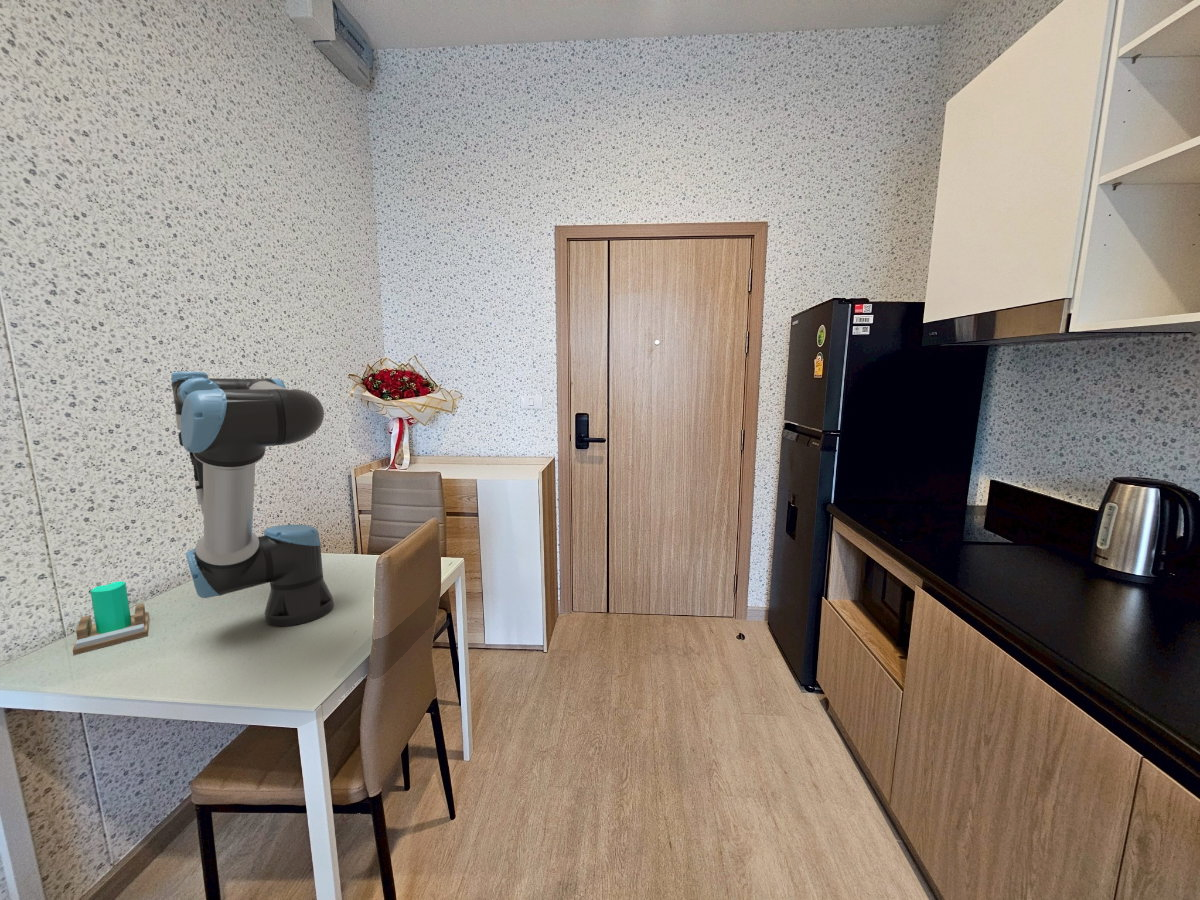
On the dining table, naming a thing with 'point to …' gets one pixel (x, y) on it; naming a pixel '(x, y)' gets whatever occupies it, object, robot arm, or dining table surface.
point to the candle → (111, 607)
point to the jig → (89, 630)
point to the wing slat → (109, 635)
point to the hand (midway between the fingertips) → (206, 508)
